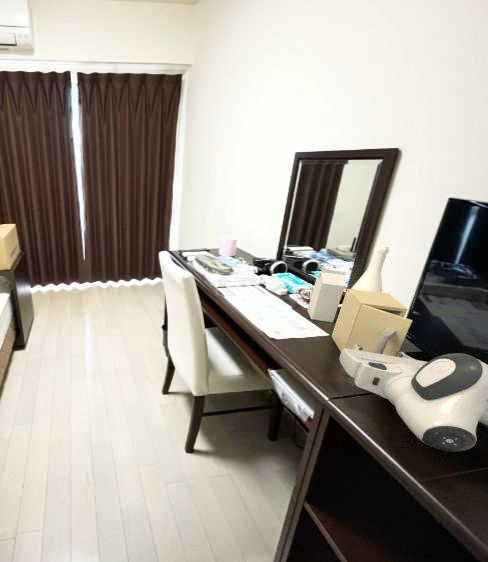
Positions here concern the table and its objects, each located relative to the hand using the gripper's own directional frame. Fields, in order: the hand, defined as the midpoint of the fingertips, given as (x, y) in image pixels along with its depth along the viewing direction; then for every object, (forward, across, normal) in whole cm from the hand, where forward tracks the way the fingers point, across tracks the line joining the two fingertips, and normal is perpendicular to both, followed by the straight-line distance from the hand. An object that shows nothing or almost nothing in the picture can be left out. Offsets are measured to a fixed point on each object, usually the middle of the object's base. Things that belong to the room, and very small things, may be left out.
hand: (376, 350), depth 82 cm
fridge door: (+4, 0, +9) cm, 10 cm away
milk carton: (+36, +3, +9) cm, 37 cm away
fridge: (+15, -3, +9) cm, 18 cm away
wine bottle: (+34, -8, +9) cm, 36 cm away
